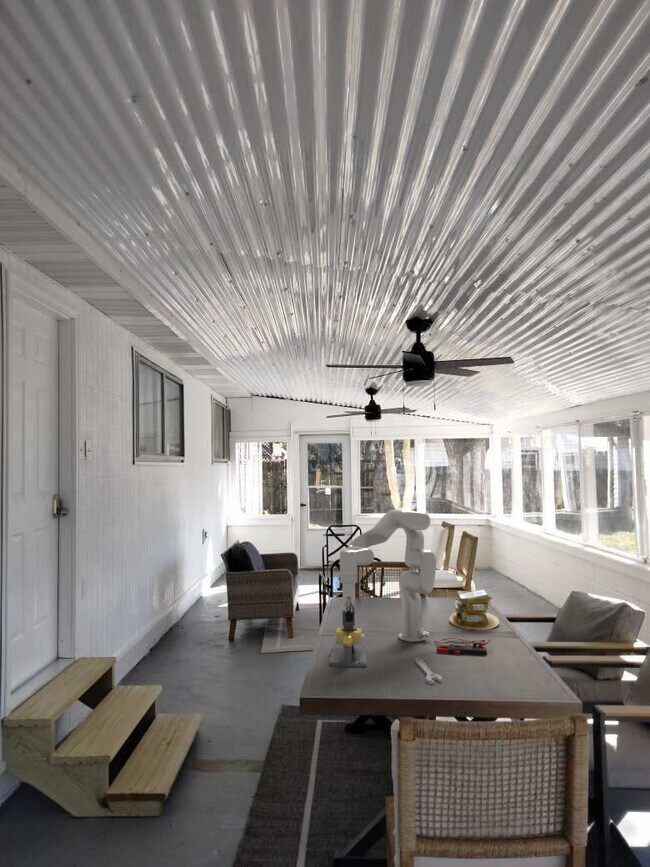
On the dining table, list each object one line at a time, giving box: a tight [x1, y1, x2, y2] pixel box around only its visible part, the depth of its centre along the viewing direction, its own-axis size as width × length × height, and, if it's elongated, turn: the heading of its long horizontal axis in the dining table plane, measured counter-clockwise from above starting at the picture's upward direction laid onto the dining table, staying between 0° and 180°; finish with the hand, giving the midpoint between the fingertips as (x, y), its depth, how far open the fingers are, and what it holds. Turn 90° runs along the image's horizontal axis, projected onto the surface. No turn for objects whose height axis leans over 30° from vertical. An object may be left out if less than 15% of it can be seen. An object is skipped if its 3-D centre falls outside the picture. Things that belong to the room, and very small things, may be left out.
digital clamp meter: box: [434, 637, 492, 656], centre depth 248 cm, size 23×4×25 cm
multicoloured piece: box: [328, 625, 368, 668], centre depth 237 cm, size 25×15×11 cm, turn 174°
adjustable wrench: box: [415, 658, 443, 685], centre depth 218 cm, size 25×6×2 cm, turn 2°
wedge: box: [341, 609, 356, 631], centre depth 237 cm, size 2×5×12 cm, turn 85°
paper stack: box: [449, 589, 500, 631], centre depth 287 cm, size 25×25×17 cm
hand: (349, 618), depth 238 cm, fingers open, 9 cm apart
